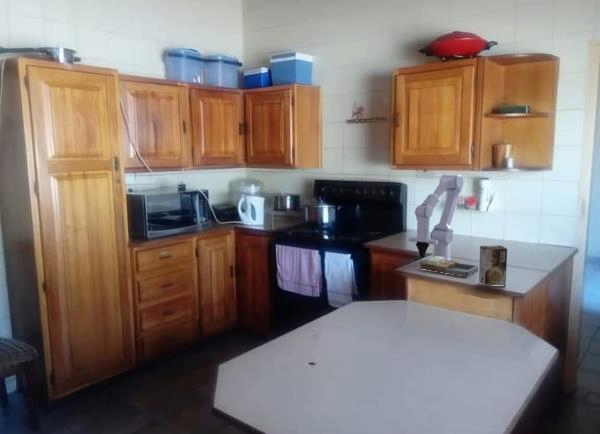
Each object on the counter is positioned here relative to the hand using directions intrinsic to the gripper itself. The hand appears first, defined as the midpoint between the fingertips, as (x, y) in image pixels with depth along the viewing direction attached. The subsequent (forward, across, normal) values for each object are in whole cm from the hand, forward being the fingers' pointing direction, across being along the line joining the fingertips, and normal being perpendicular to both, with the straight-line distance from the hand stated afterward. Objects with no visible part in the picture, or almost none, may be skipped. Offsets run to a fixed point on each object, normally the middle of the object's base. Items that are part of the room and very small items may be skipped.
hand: (422, 257), depth 233 cm
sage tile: (+1, +8, -6) cm, 10 cm away
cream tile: (+1, +8, 0) cm, 8 cm away
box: (+4, +21, -2) cm, 21 cm away
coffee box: (+4, +37, -13) cm, 40 cm away
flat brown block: (+4, +9, -2) cm, 10 cm away
